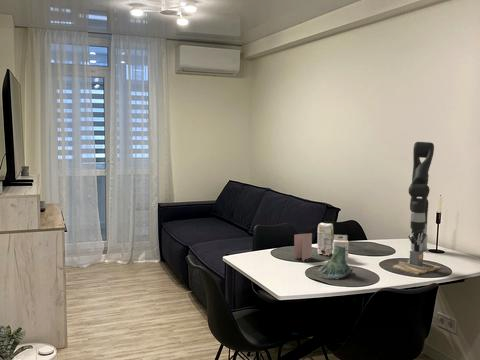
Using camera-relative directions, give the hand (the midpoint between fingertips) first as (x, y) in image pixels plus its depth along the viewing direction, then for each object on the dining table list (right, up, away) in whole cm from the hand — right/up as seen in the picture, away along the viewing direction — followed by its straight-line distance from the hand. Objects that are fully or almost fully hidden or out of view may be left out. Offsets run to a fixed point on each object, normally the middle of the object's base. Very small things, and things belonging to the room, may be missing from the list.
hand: (416, 251), depth 255 cm
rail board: (0, -9, +1) cm, 10 cm away
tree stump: (-48, -11, -9) cm, 50 cm away
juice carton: (-45, -7, +31) cm, 55 cm away
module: (0, -8, +1) cm, 9 cm away
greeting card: (-59, -8, +18) cm, 62 cm away
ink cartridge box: (-38, -8, +18) cm, 43 cm away
